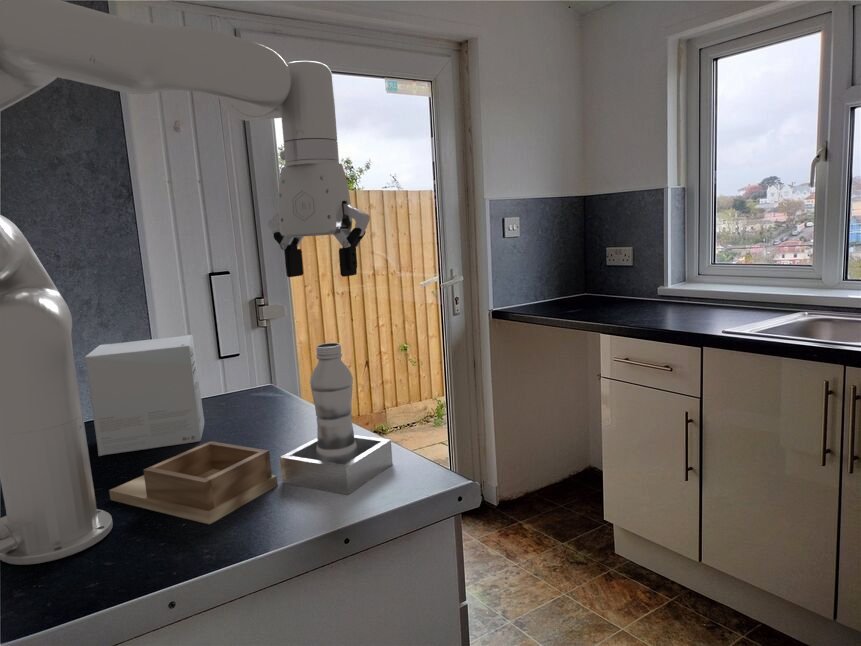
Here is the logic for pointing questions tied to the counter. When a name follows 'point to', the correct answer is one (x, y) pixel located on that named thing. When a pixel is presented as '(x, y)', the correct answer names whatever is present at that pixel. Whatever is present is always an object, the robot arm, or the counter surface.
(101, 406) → the supplement box
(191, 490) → the wooden tray
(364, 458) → the holder
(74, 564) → the counter surface
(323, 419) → the plastic bottle
